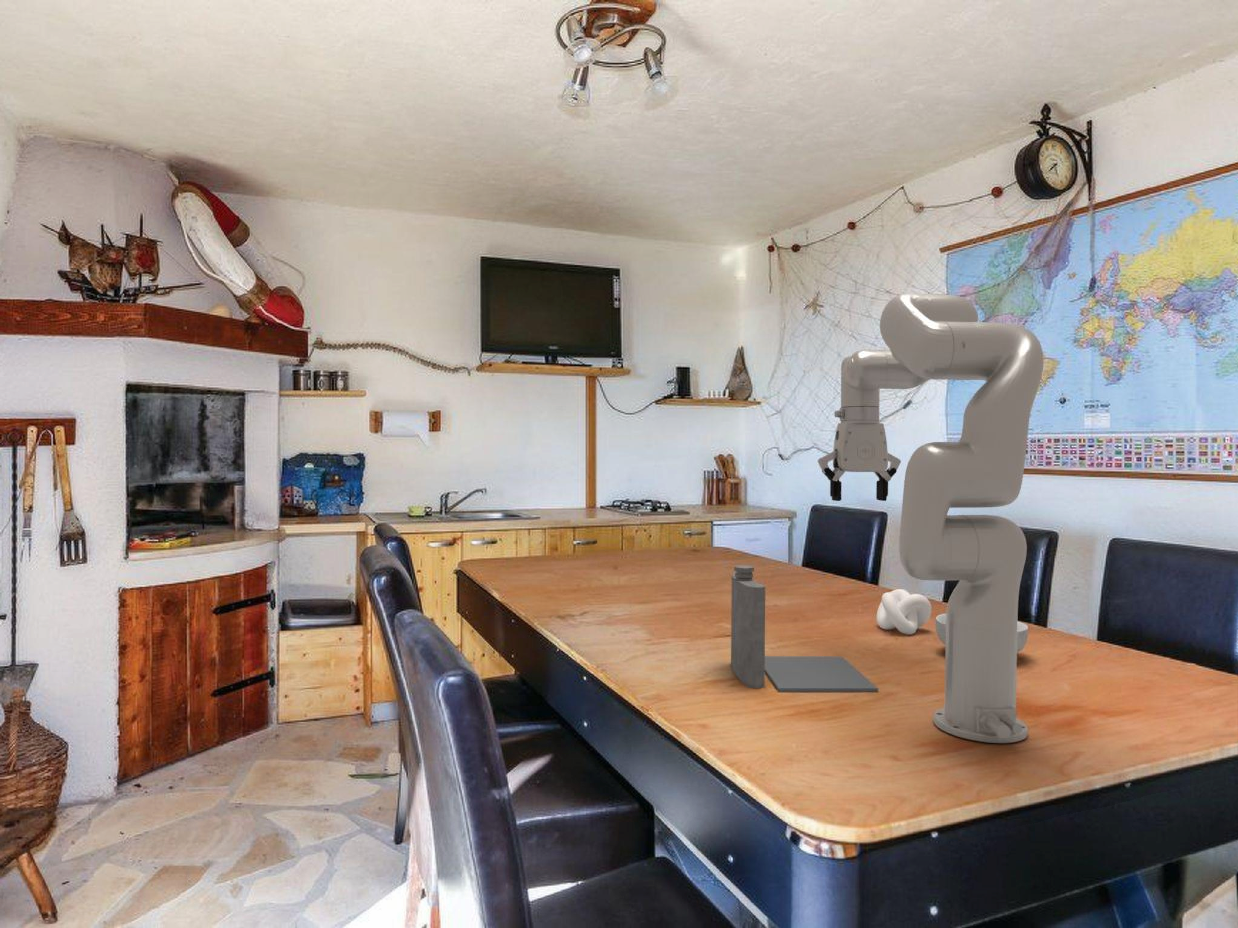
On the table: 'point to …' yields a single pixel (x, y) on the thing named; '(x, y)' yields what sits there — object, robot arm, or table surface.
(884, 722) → the table surface
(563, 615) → the table surface
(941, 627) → the cereal bowl
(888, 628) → the white decorative knot
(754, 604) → the hip flask
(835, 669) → the mat
